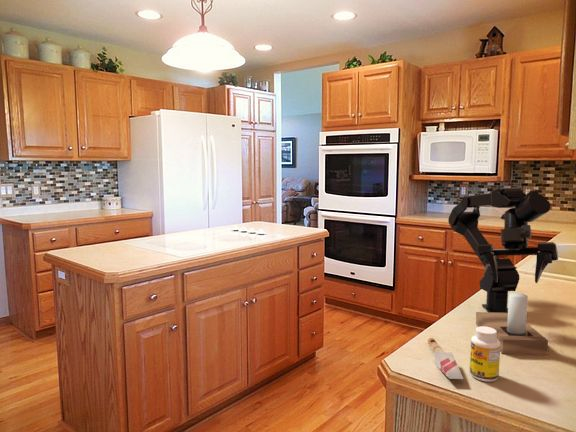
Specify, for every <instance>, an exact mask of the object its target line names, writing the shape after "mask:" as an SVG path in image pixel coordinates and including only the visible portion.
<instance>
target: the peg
mask: <svg viewBox="0 0 576 432" xmlns="http://www.w3.org/2000/svg"><path fill="white" fill-rule="evenodd" d="M528 298H529V297H528V295H526V294H524V293H519V292H510V293H508V304H507V308H508V321H507V334H508V335H509V336H525V335H526V323H527V318H528V317H527V316H528V315H527V314H528Z"/></svg>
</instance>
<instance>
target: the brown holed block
mask: <svg viewBox="0 0 576 432" xmlns="http://www.w3.org/2000/svg"><path fill="white" fill-rule="evenodd" d="M507 321H508V313H495V312H488V311H486V312H485V311H484V312H483V311H478V312H477V311H476V313H475V325H476V327H480V326H485V327H490V328H493V329H495V330H496V331H497V339H498V340H499V341H500V354H503V355H532V356H533V355H534V356H536V355H539V356H540V355H541V356H547V355H548V348H549V339H547V338H546V337H545V336H543V334H541V333H540V332H539V331H537V330H536V329H535V328H534V327H532V326H531V325H530V324H529V323H527V322H526V335H525V336H509V335H508V334H507Z"/></svg>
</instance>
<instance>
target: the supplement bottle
mask: <svg viewBox="0 0 576 432" xmlns="http://www.w3.org/2000/svg"><path fill="white" fill-rule="evenodd" d="M470 340H471V341H470V357H469V358H470V359H469V374H470V375H471V376H472V377H473V378H474V379H476V380H479V381H482V382H487V383H488V382H489V383H490V382H496V381H497V380H498V379H499V377H500V376H499V375H500V361H501V352H500V341H499V340H498V339H497V331H496V330H495V329H493V328H490V327H485V326H480V327H478V326H476V328H475V334H474V335H473V336H472V337H471V338H470Z"/></svg>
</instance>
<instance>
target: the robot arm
mask: <svg viewBox="0 0 576 432" xmlns="http://www.w3.org/2000/svg"><path fill="white" fill-rule="evenodd" d="M487 206H488V207H492V208H498V209H505V208H507V210H505V211H504V213H503V214H502V215H501V217H500V220H503V221H504V225H503V226H504V228H501V229H500V241H501V246H502V248H501V247H500V248H495V247H494V245H493V244H492V243H489V242H488V240H487V239H486V237H485V236H484V235H483V234H482V232H481V231H480V229H479V219H480V217H481V213H480V208H481V207H487ZM469 208H471V209H472V208H473V210H472V211H466V210H468V209H469ZM550 210H551V203H550V200H548V199H547V198H546V197H545V196H543V195H542V194H540V193H539V190H529V192H527V193H525V192H524V191H523V190H522V188H521V187H497V188H495V189H493V190H491V191H490V192H489V193H482V194H474V195H473V194H472V195H470V194H469V195H467V194H466V195H465V196H463V197H462V198H461V201H460V202H459V203H458V204H456V205H455V206H454V207H453V208H452V210H451V212H450V214H449V216H448V220H447V221H448V224H449V226H450V228H451V229H452V230H453V231H454V232H455V233H456V234H459V235H461V236H463V237H464V239H465V240H466V242H467V243H468V244H469V246H470V248H471V249H472V250H473V252H474V253H475V255H476V256H477V258H478V259H479V261H480V262H481V264H482V265H483V266H484V269H483V270H484V271H483V277H482V278H481V279H480V280H479V289H481V290H483V291H484V292H486V303H483V304H481V307H482V308H484V309H485V310H486V312H495V313H508V301H509V292H516V290H517V287H518V284H519V281H520V273H519V272H518V270H517V269H518V267H517V266H516V265H514V263H513V262H512V260H511V259H510V258H507V257H508V256H536V262H535V263H536V264H535V270H534V271H535V273H534V282H535V284H538V283H539V280H540V278H541V276H542V274H543V271H545V269H546V267H547V266H548V264H552V263H553V261H558V260H559V254H558V253H559V252H558V248H557V244H556V243H555V242H552V241H549V242H547V241H546V242H545V241H544V242H543V241H542V242H537V247H529V239H531V238H532V227H531V225H530V224H529V223H533V222H534V221H536V220H538V219H539V218H541V217H542V216H544V215H546V214H547V213H549V212H550ZM500 256H502V257H503V256H505V257H506V258H500Z"/></svg>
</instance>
